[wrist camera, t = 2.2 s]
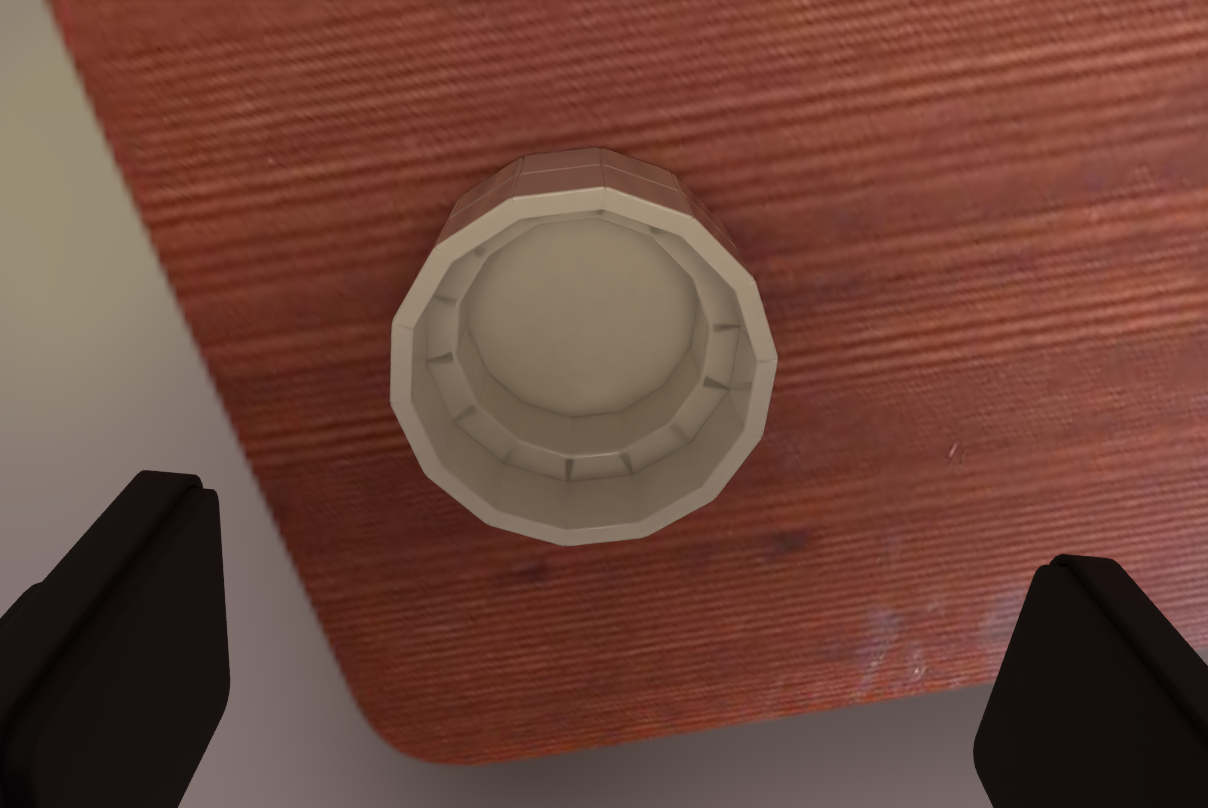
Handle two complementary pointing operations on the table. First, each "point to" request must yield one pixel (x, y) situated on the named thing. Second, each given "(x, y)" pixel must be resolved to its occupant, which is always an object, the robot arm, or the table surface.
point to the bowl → (582, 351)
